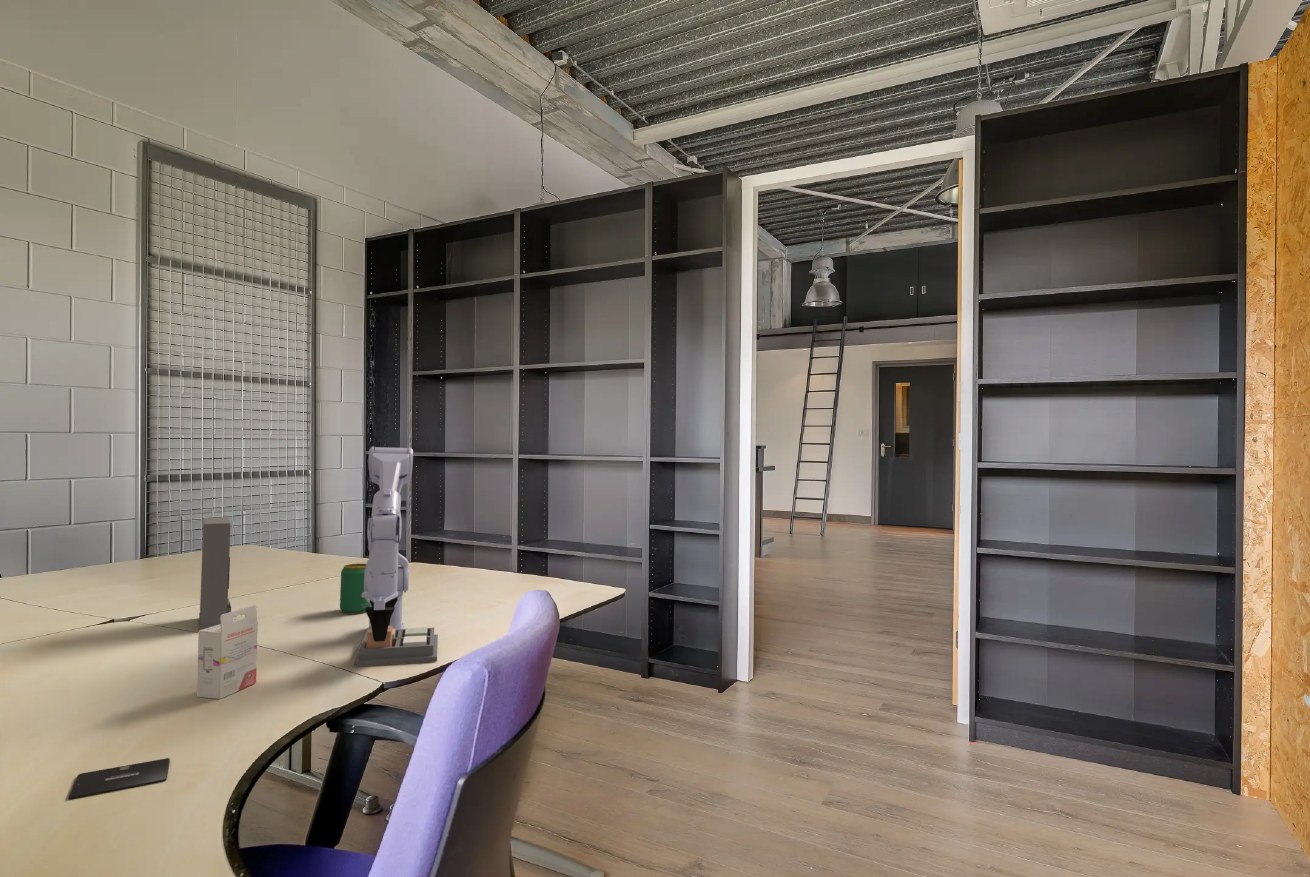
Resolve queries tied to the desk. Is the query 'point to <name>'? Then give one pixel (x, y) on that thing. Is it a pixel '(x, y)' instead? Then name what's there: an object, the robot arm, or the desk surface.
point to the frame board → (401, 648)
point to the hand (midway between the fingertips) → (381, 636)
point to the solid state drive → (119, 778)
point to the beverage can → (353, 589)
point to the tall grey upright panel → (214, 571)
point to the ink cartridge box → (228, 654)
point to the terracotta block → (379, 643)
